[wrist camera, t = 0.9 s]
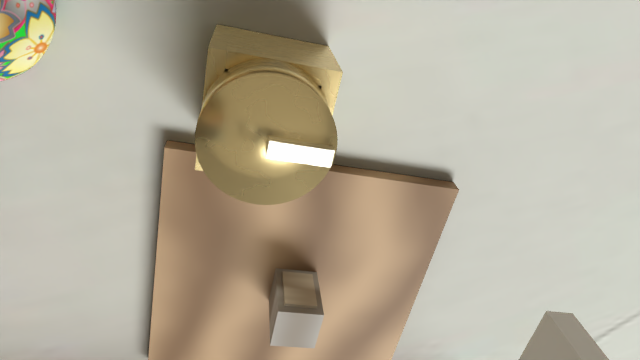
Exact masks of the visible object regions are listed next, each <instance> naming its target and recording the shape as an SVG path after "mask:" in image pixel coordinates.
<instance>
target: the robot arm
mask: <svg viewBox="0 0 640 360" xmlns="http://www.w3.org/2000/svg"><path fill="white" fill-rule="evenodd" d="M519 360H609V359H608V358H607V356H606V355H605V354H604V353H603V351H602V350H601V349H600V348H599V346H598V345H597V344H596V343H595V341H594V340H593V339H592V337H591V336H590V335H589V334H588V332H587V331H586V330H585V329H584V327H583V326H582V325H581V324H580V322H579V321H578V320H577V318H576V317H575V316H574V315H573V313H562V312H551V311H546V313H545V314H544V316H543V318H542V320H541V321H540V323H539V325H538V327H537V329H536V330H535V332H534V334H533V336H532V337H531V339H530V341H529V343H528V344H527V346H526V348H525V350H524V351H523V353H522V355H521V357H520V359H519Z"/></svg>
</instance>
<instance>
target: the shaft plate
mask: <svg viewBox="0 0 640 360" xmlns="http://www.w3.org/2000/svg"><path fill="white" fill-rule="evenodd" d="M195 163H196V149H195V144H188V143H182V142H175V141H168V140H167V142H166V145H165V147H164V159H163V172H162V185H161V198H160V211H159V225H158V238H157V251H156V264H155V277H154V290H153V303H152V316H151V330H150V343H149V356H148V360H391V359H392V357H393V354H394V351H395V349H396V346H397V344H398V341H399V339H400V336H401V334H402V331H403V329H404V326H405V324H406V321H407V319H408V316H409V314H410V311H411V309H412V306H413V304H414V301H415V299H416V296H417V294H418V291H419V289H420V286H421V284H422V281H423V279H424V276H425V274H426V271H427V269H428V266H429V264H430V261H431V259H432V256H433V254H434V251H435V248H436V246H437V243H438V241H439V238H440V236H441V233H442V231H443V228H444V226H445V223H446V221H447V218H448V216H449V213H450V211H451V208H452V206H453V203H454V201H455V198H456V196H457V193H458V191H459V189H458V188H457V186H456V185H455V184H454V182H449V181H442V180H435V179H428V178H422V177H415V176H408V175H401V174H394V173H387V172H380V171H374V170H367V169H360V168H353V167H346V166H339V165H332V166H331V168H330V170H329V171H328V173H327V174H326V176H325V177H324V179H323V180H322V181H321V182H320V183H319V184H318V185H317V186H316V187H315V188H314V189H312V190H311V191H310V192H308V193H307V194H305V195H303V196H301V197H299V198H297V199H295V200H292V201H289V202H286V203H282V204H275V205H257V204H251V203H247V202H243V201H240V200H237V199H235V198H233V197H231V196H229V195H227V194H226V193H224V192H223V191H221V190H220V189H219V188H217V187H216V186H215V185H214V184H213V183H212V182H211V181H210V180H209V178H208V177H207V176H206V174H205V173H204V171H199V170H195Z"/></svg>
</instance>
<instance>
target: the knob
mask: <svg viewBox="0 0 640 360" xmlns="http://www.w3.org/2000/svg"><path fill="white" fill-rule="evenodd" d="M227 69H228V70H227ZM342 73H343V72H342V70H341V68H340V66H339V65H338V63H337V61H336V59H335V57H334V55H333V54H332V52H331V50H330V48H329V46H325V45H320V44H315V43H310V42H305V41H300V40H295V39H290V38H285V37H279V36H274V35H269V34H264V33H259V32H254V31H249V30H244V29H239V28H234V27H229V26H223V25H218V24H217V25H216V27H215V30H214V33H213V36H212V38H211V41H210V44H209V47H208V54H207V63H206V72H205V82H204V91H203V100H202V108H201V112H200V115H199V119H198V122H197V126H196V131H195V149H196V163H195V170H199V171H204V173H205V174H206V176H207V177H208V178H209V180H210V181H211V182H212V183H213V184H214V185H215V186H216V187H217V188H219V189H220V190H221V191H223V192H224V193H226V194H227V195H229V196H231V197H233V198H235V199H237V200H240V201H243V202H247V203H251V204H257V205H275V204H282V203H286V202H289V201H292V200H295V199H297V198H299V197H301V196H303V195H305V194H307V193H308V192H310V191H311V190H312V189H314V188H315V187H316V186H317V185H318V184H319V183H320V182H321V181H322V180H323V179H324V177H325V176H326V174H327V173H328V171H329V170H330V168H331V166H332V164H333V161H334V158H335V155H336V150H337V130H336V126H335V122H334V119H333V117H332V114H333V110H334V106H335V102H336V98H337V94H338V90H339V85H340V81H341V77H342Z"/></svg>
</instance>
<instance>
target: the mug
mask: <svg viewBox="0 0 640 360" xmlns="http://www.w3.org/2000/svg"><path fill="white" fill-rule="evenodd" d="M55 23H56V4H55V0H0V81H3V80H7V79H10V78H13V77H16V76H18V75H20V74H22V73H24V72H26V71H27V70H29V69H30V68H31V67H33V66H34V65H35V64H36V63H37V62H38V61H39V60H40V59H41V57H42V56H43V55H44V53H45V52H46V50H47V48H48V46H49V44H50V42H51V40H52V36H53V33H54V29H55Z"/></svg>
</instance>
